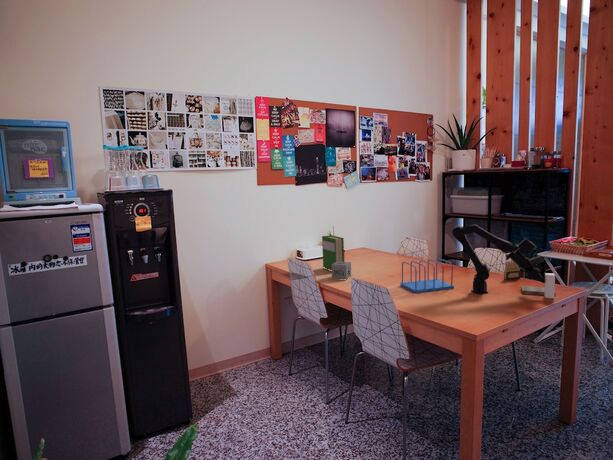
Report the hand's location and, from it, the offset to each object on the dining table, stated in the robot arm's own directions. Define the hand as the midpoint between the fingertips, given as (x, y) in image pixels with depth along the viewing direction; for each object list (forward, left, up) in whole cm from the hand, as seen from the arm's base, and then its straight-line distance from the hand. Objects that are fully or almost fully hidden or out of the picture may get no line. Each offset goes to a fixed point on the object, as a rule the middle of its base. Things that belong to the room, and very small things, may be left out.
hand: (544, 282), depth 208 cm
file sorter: (-44, +40, -8) cm, 60 cm away
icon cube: (-81, +81, -8) cm, 115 cm away
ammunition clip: (+13, +36, -8) cm, 39 cm away
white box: (+5, +2, -8) cm, 9 cm away
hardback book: (-78, +106, -8) cm, 132 cm away
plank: (+3, +7, -8) cm, 11 cm away
